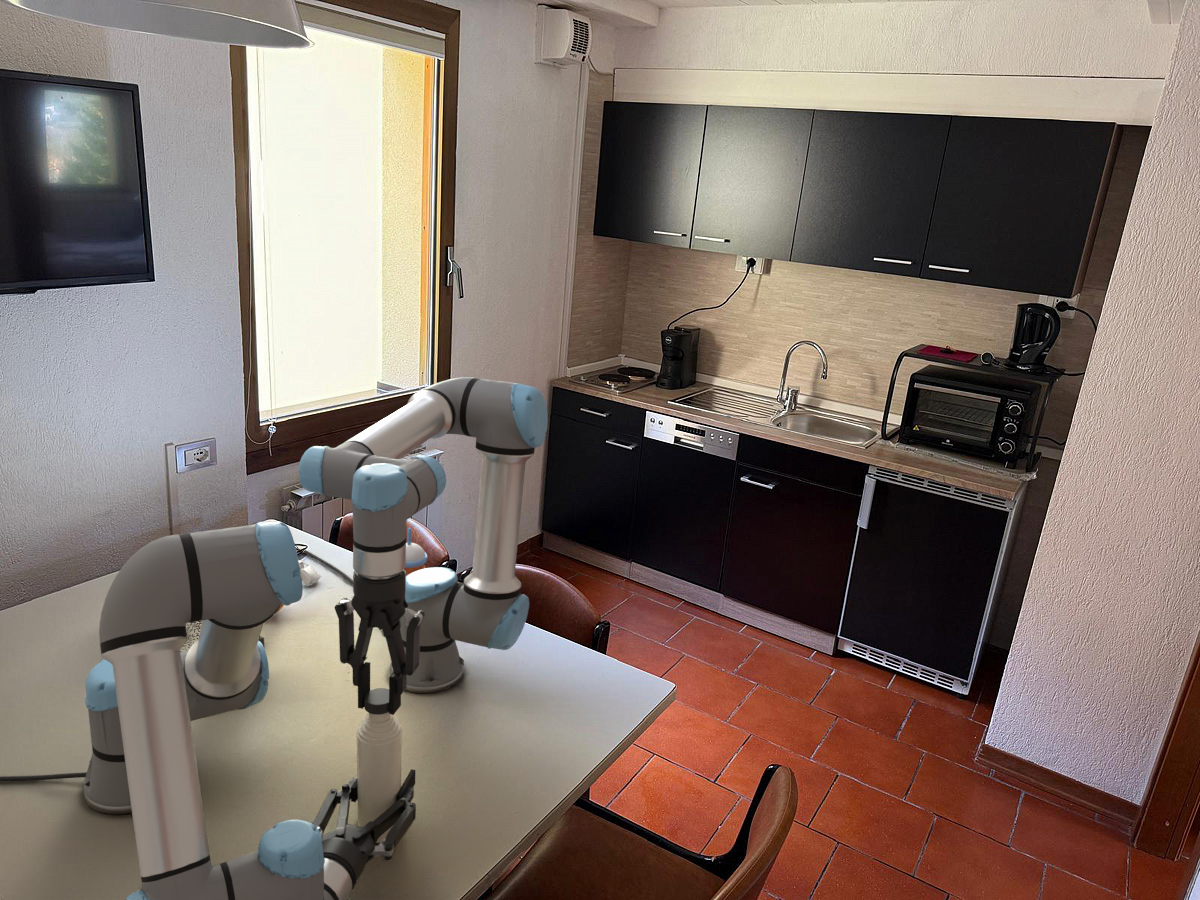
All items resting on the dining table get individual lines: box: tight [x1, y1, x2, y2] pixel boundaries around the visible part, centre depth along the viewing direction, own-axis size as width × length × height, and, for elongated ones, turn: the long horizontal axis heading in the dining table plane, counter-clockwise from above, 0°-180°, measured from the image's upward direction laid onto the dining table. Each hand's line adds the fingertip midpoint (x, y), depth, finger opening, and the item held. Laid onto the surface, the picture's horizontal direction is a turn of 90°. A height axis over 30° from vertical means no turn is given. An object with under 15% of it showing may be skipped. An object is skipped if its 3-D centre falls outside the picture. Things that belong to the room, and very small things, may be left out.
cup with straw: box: [404, 527, 429, 576], centre depth 213 cm, size 9×9×18 cm
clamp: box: [298, 559, 322, 587], centre depth 219 cm, size 20×4×7 cm, turn 62°
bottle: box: [356, 712, 403, 844], centre depth 135 cm, size 7×7×24 cm
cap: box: [363, 687, 389, 715], centre depth 132 cm, size 5×5×2 cm
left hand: (391, 772), depth 142 cm, fingers closed on bottle, 7 cm apart
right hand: (379, 706), depth 132 cm, fingers closed on cap, 4 cm apart
